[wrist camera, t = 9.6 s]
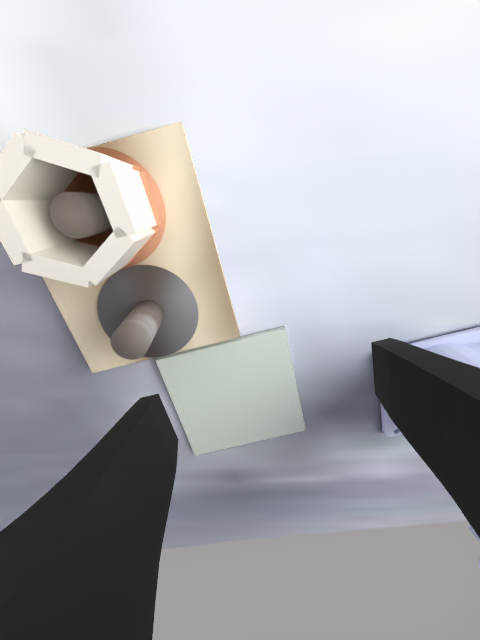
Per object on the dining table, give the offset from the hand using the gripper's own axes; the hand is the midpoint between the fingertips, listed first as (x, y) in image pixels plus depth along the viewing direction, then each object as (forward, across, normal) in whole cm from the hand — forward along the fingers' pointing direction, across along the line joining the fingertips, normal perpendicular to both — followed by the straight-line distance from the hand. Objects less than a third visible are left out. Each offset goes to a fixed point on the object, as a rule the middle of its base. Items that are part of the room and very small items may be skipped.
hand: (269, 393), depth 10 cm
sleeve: (+9, +6, -7) cm, 13 cm away
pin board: (+10, +6, -4) cm, 12 cm away
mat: (+10, +2, +7) cm, 12 cm away
